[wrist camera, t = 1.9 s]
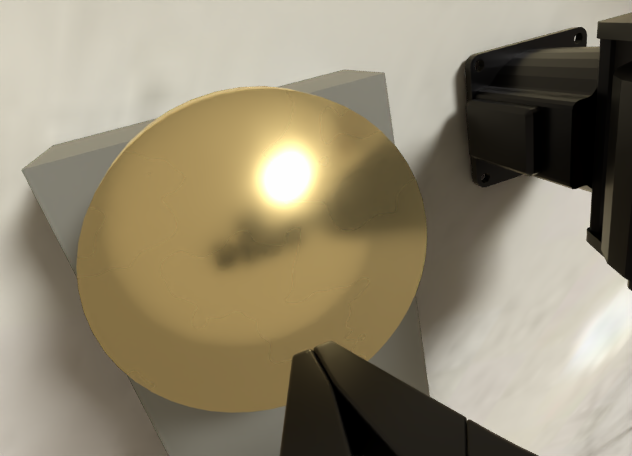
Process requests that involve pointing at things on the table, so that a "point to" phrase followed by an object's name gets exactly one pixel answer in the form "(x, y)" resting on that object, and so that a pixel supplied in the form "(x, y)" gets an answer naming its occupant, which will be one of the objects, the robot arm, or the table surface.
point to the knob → (248, 245)
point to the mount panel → (166, 416)
